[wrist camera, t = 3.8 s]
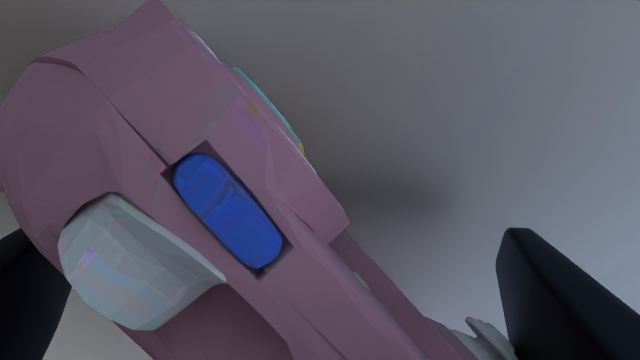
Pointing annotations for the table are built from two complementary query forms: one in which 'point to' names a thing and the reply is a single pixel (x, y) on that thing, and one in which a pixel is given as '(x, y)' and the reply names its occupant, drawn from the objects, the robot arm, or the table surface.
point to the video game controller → (197, 209)
